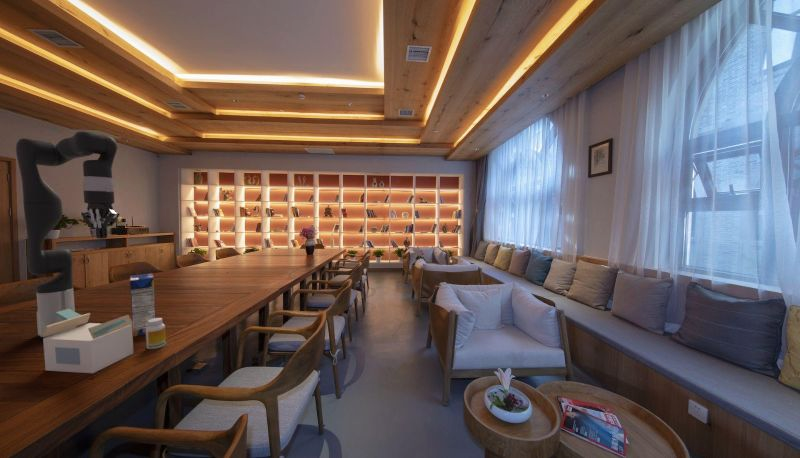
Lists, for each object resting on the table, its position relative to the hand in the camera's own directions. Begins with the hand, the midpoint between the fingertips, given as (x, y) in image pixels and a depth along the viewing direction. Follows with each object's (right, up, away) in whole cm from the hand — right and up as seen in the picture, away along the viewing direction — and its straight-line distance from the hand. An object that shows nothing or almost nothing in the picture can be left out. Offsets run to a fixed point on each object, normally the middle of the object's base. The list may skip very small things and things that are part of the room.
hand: (101, 238), depth 103 cm
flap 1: (+1, -28, -11) cm, 30 cm away
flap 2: (+16, -28, -13) cm, 34 cm away
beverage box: (+4, -38, +13) cm, 41 cm away
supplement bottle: (+20, -39, 0) cm, 44 cm away
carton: (+9, -40, -11) cm, 42 cm away
